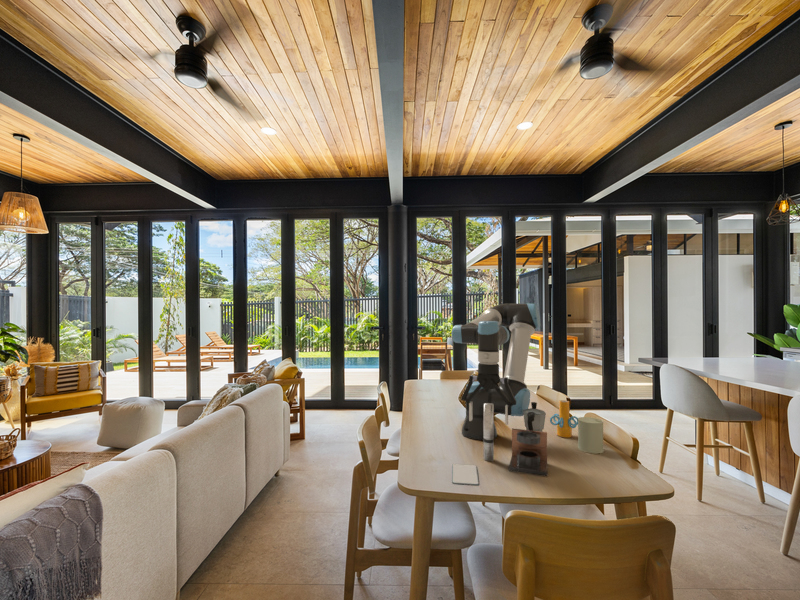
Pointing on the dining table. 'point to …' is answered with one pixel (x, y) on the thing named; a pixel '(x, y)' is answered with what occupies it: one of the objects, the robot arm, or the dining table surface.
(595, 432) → the can
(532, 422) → the coffee maker
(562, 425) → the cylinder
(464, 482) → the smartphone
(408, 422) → the dining table surface
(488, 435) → the silver metal tube
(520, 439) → the collar stand
